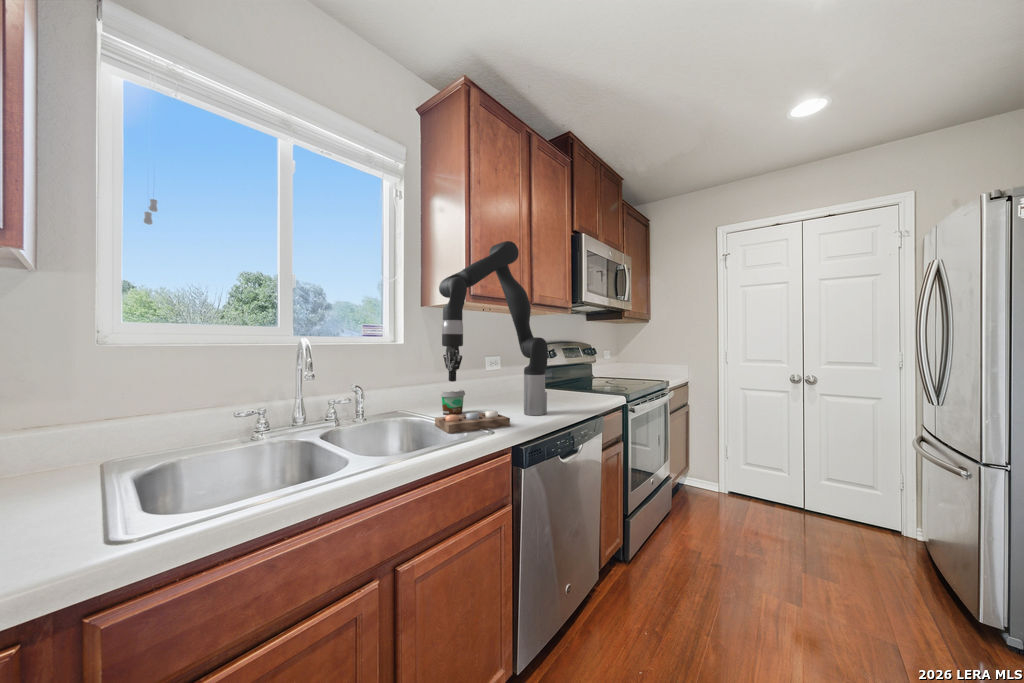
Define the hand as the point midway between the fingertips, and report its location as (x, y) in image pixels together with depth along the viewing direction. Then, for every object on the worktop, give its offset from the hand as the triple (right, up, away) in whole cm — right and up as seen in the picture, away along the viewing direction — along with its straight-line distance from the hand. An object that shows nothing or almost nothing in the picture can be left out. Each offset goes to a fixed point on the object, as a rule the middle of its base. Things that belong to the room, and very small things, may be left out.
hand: (452, 381), depth 138 cm
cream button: (+14, -16, +8) cm, 22 cm away
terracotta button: (0, -15, 0) cm, 15 cm away
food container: (-3, -17, +27) cm, 32 cm away
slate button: (+7, -16, +4) cm, 17 cm away
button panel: (+7, -17, +4) cm, 19 cm away
